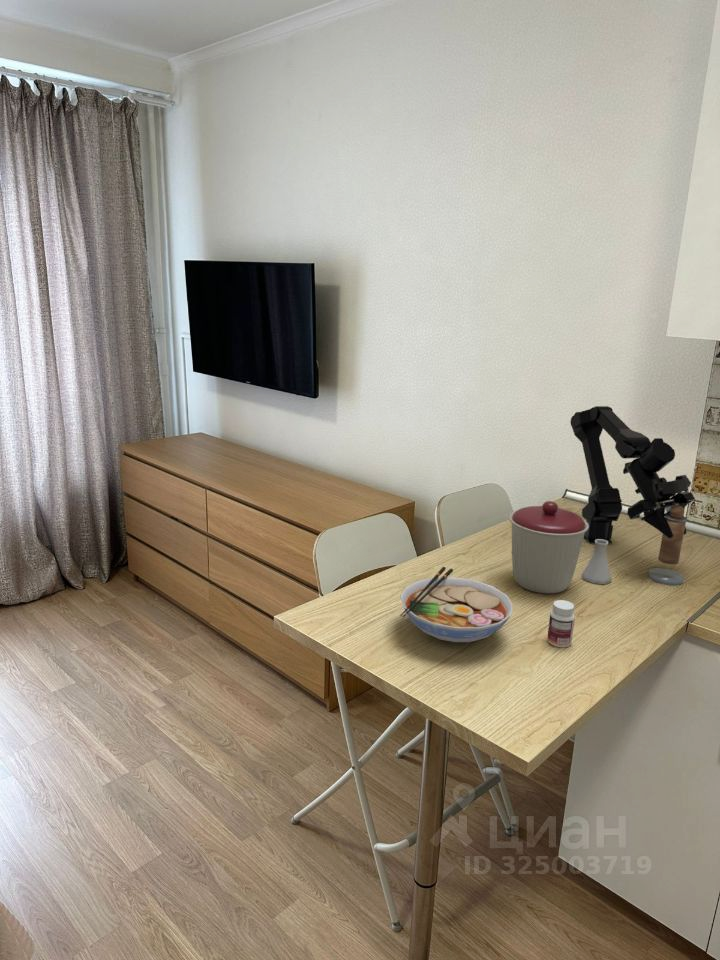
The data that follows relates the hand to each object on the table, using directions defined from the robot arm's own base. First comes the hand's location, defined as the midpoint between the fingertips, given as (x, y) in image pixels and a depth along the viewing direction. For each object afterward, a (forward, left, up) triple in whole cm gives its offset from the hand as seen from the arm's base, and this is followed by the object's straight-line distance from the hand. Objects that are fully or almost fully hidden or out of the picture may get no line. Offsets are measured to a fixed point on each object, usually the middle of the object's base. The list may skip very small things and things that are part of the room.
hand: (678, 535), depth 162 cm
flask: (-19, 0, -12) cm, 22 cm away
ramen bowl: (-59, -28, -12) cm, 66 cm away
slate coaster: (-1, +1, -12) cm, 12 cm away
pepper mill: (-1, +1, -7) cm, 7 cm away
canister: (-34, -4, -12) cm, 36 cm away
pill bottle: (-38, -31, -12) cm, 50 cm away
